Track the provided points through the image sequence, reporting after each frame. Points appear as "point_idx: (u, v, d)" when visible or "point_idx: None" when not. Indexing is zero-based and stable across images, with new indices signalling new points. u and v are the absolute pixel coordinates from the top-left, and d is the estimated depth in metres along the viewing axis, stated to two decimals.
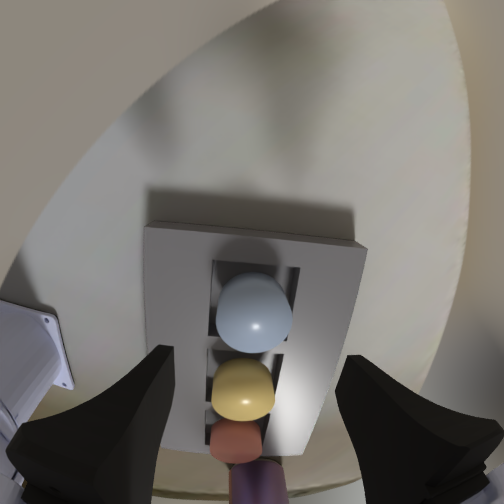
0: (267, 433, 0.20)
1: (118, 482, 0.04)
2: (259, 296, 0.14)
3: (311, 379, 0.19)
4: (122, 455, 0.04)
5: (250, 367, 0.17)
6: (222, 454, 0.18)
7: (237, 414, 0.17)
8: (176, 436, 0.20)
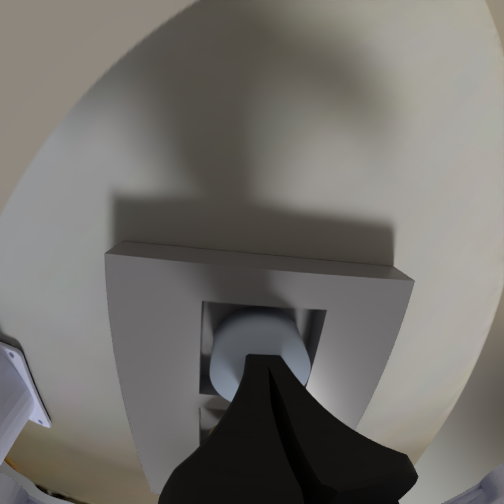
0: None
1: None
2: (267, 344, 0.10)
3: None
4: None
5: None
6: None
7: None
8: None
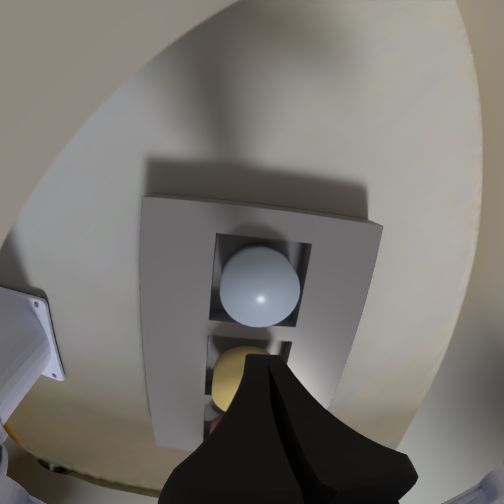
0: None
1: None
2: (266, 264, 0.14)
3: (320, 370, 0.17)
4: None
5: None
6: None
7: None
8: (172, 433, 0.19)
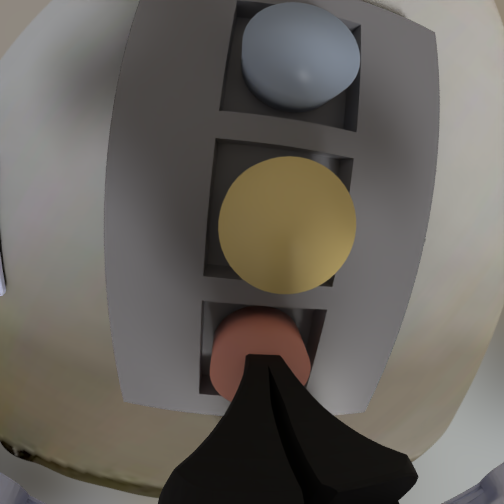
0: (316, 362, 0.12)
1: None
2: (308, 13, 0.07)
3: (397, 226, 0.10)
4: None
5: None
6: (234, 385, 0.11)
7: (273, 272, 0.08)
8: (147, 373, 0.12)
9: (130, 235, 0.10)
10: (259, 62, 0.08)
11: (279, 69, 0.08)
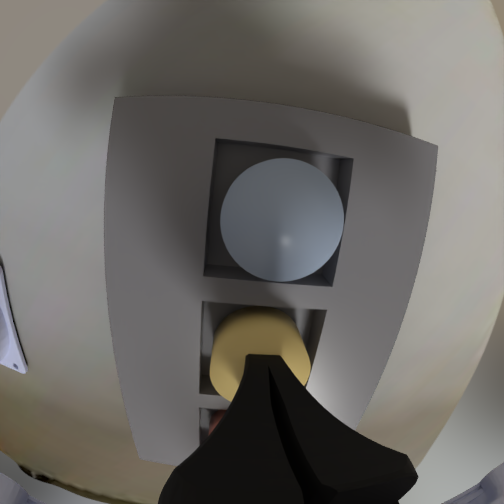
0: None
1: None
2: (292, 175, 0.09)
3: (362, 354, 0.12)
4: None
5: (271, 317, 0.11)
6: None
7: None
8: (158, 445, 0.13)
9: (138, 365, 0.12)
10: (238, 246, 0.09)
11: (257, 252, 0.09)
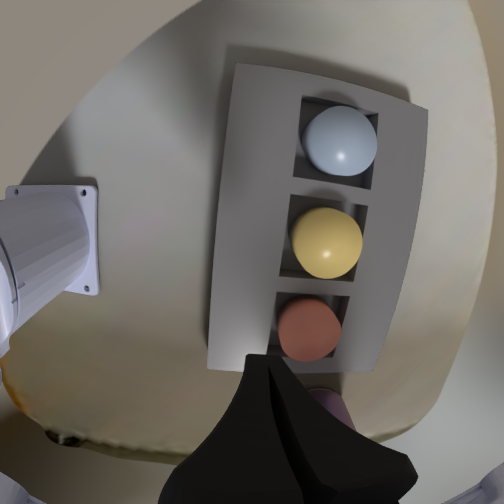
0: (342, 331, 0.19)
1: None
2: (349, 115, 0.14)
3: (392, 245, 0.17)
4: None
5: None
6: (294, 345, 0.18)
7: (321, 267, 0.16)
8: (231, 344, 0.19)
9: (233, 251, 0.17)
10: (320, 151, 0.14)
11: (331, 156, 0.15)
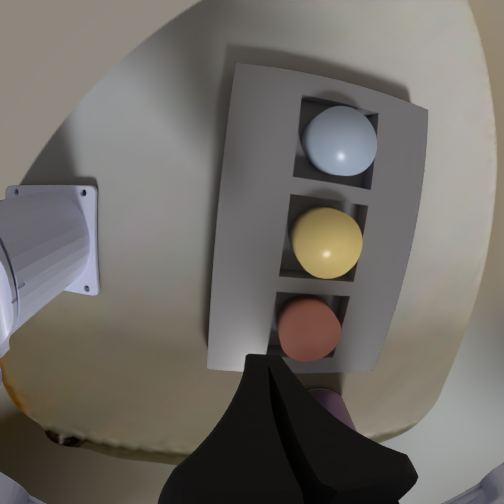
0: (342, 331, 0.19)
1: None
2: (349, 115, 0.14)
3: (392, 245, 0.17)
4: None
5: None
6: (294, 345, 0.18)
7: (321, 267, 0.16)
8: (231, 344, 0.19)
9: (233, 251, 0.17)
10: (320, 151, 0.14)
11: (331, 156, 0.15)
